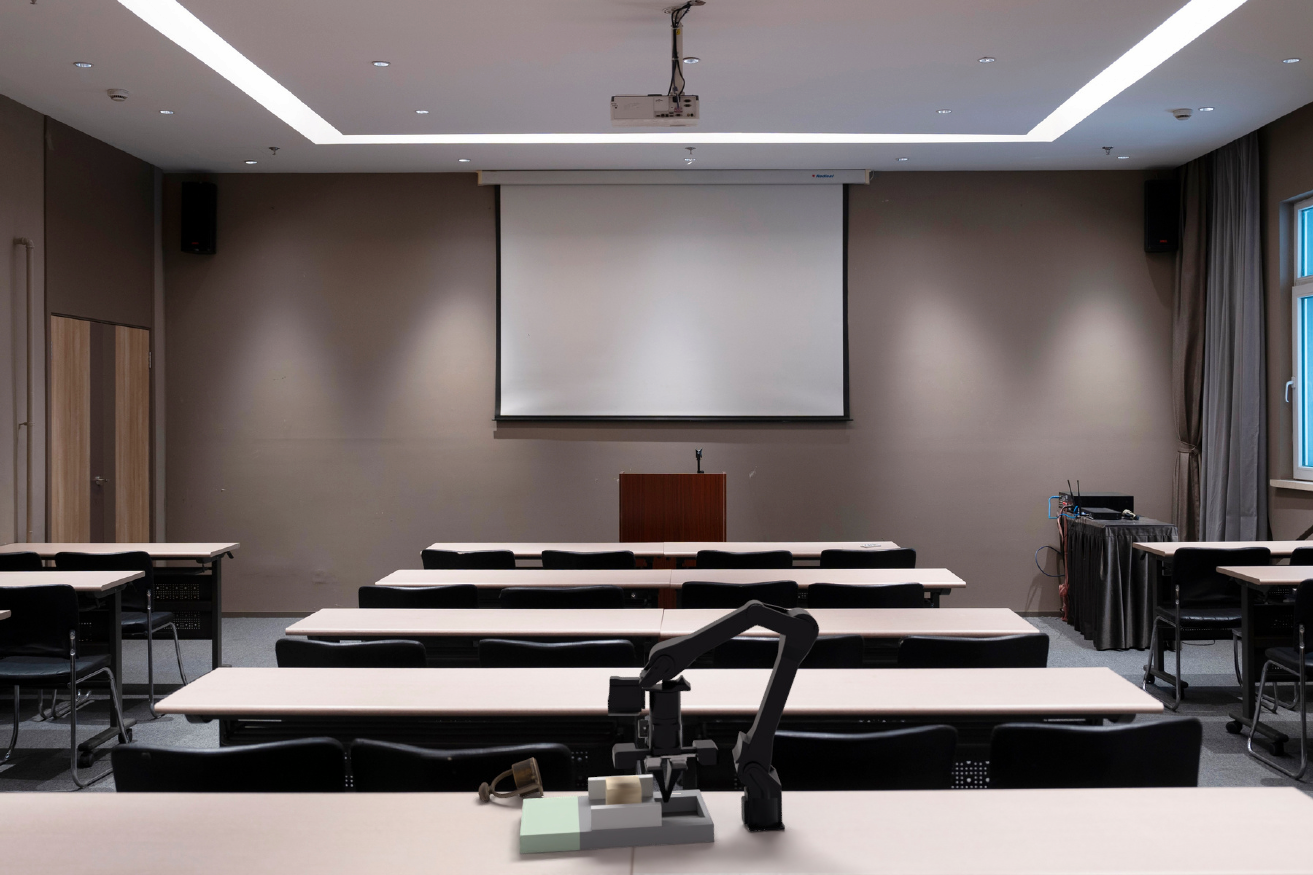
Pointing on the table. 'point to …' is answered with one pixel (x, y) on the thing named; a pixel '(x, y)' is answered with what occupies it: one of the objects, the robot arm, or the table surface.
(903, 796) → the table surface
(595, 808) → the stepped grey tray
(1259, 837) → the table surface
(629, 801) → the maple block
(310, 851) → the table surface
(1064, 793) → the table surface
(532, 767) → the brown cylinder with loop
